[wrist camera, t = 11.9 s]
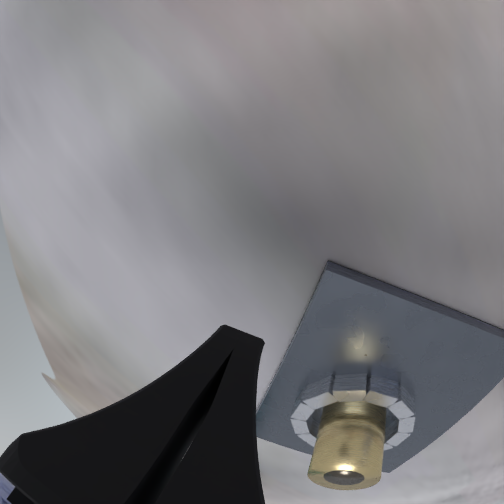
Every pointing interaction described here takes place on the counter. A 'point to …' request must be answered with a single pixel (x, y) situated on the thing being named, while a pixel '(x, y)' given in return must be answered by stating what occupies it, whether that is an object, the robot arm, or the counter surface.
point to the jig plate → (380, 365)
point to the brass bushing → (349, 446)
